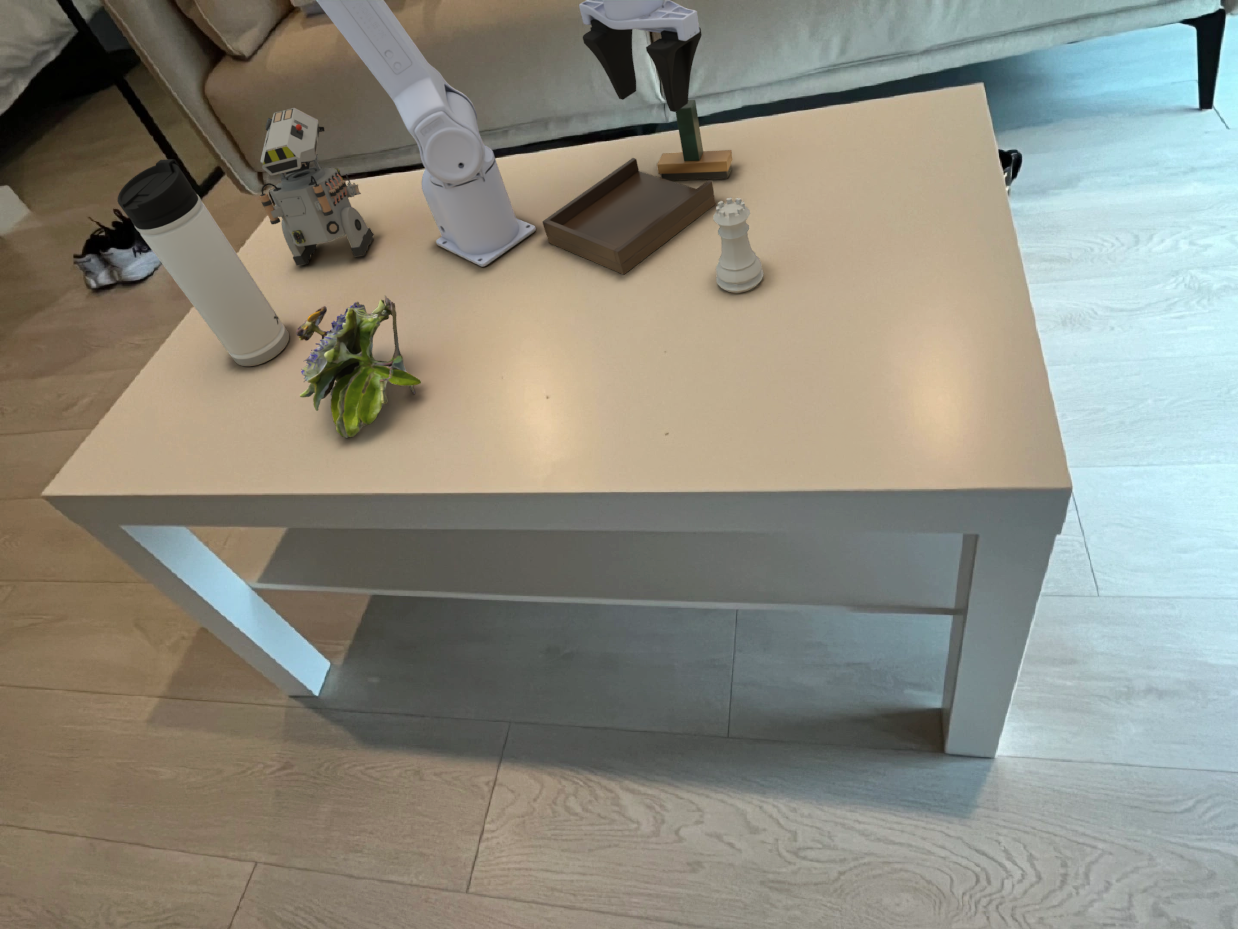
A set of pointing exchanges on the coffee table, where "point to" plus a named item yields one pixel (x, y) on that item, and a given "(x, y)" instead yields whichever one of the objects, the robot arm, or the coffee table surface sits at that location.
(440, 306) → the coffee table surface
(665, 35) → the robot arm
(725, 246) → the rook chess piece
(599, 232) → the tray
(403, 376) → the passion flower
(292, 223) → the figurine
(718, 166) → the brush
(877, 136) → the coffee table surface
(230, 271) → the travel mug
